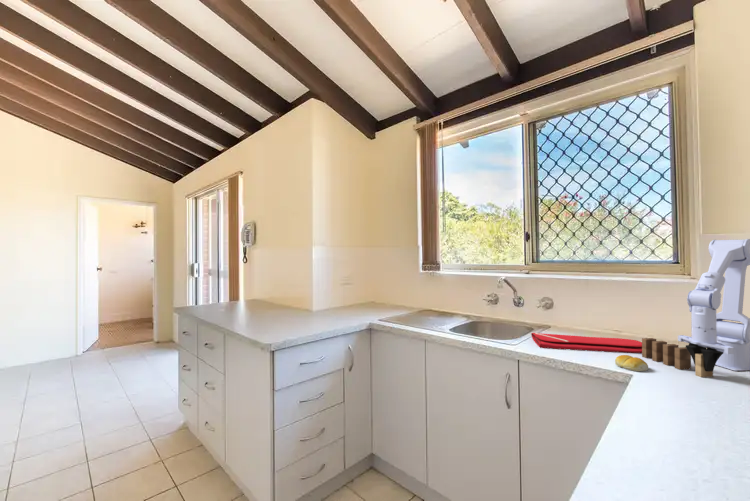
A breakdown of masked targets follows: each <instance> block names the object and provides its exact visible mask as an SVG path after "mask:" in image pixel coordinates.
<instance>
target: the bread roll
mask: <svg viewBox="0 0 750 501" xmlns="http://www.w3.org/2000/svg"><path fill="white" fill-rule="evenodd" d="M614 362H615V365H616V366H617V367H619V368H621V369H625V370H626V371H632V372H646V371H648V370H649V365H648V363H647V362H646V361H644V360H643V359H641V358H639V357H633V356H632V355H629V354H622V355H621V354H620V355H618V356H617V357H615V361H614Z"/></svg>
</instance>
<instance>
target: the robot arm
mask: <svg viewBox="0 0 750 501" xmlns="http://www.w3.org/2000/svg"><path fill="white" fill-rule="evenodd" d="M708 253H709V255H710V257H711V261H710V263H709V267H708V270H707V271H706V272H703V273H702V274H701V276H700V277H699V280H698V281H697V284H696V286H695V287H694V289H693V290H690V291H689V292H688V294H687V298H686V301H687V305H688V309H689V312H690V313H691V315H690V316H691V317H690V318H691V336H688V335H684V334H680V335H677V341H678V342H684V343H687V344H686V345H685V347H686V348H687V350H688V351H689V353H690V354H691V360H692V361H693V363H694V365H695V354H699V353H702V354H703V357H704V368H705V371H707V372H710V371H713V372H714V369H715V366H718V367H721V368H723V369H724V368H725V369H728V370H730V371H731V370H732V371H735V372H738V371H739V372H740V371H750V317H748V316H747V315H746V314H744V313H743V309H744V299H745V286H746V285H745V284H746V275H747V274H746V272H747V268H748V266H750V238H746V239H744V238H742V239H712V240H711V241H710V242H709V245H708ZM722 289H723V294H721V293H722ZM721 298H722V300H721ZM721 301H722V302H721ZM721 303H722V304H721ZM721 305H722V306H721ZM720 307H722V308H721V311H719V312H717V310H718V309H719V308H720Z"/></svg>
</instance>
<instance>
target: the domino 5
mask: <svg viewBox="0 0 750 501" xmlns="http://www.w3.org/2000/svg"><path fill="white" fill-rule="evenodd" d="M694 367H695V371H694V372H695V374H694V375H695V376H696V377H700V378H707V377H713V375H714V370H713V371H710V372H707V371H705V368H704V357H703V354H702V353H699V354H695V364H694Z"/></svg>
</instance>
